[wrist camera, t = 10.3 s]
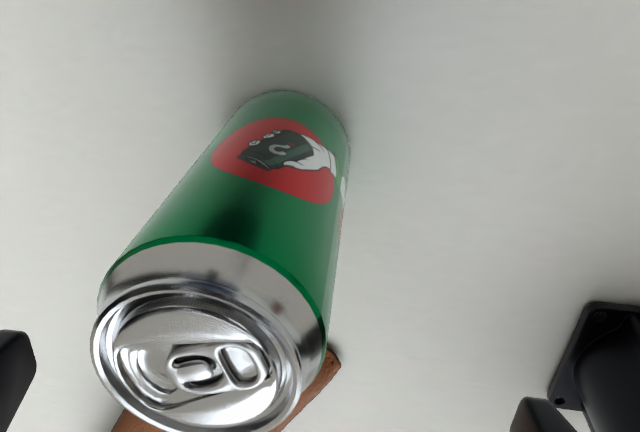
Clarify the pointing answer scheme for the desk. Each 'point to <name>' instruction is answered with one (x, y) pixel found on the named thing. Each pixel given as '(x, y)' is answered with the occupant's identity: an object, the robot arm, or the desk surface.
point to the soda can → (231, 276)
